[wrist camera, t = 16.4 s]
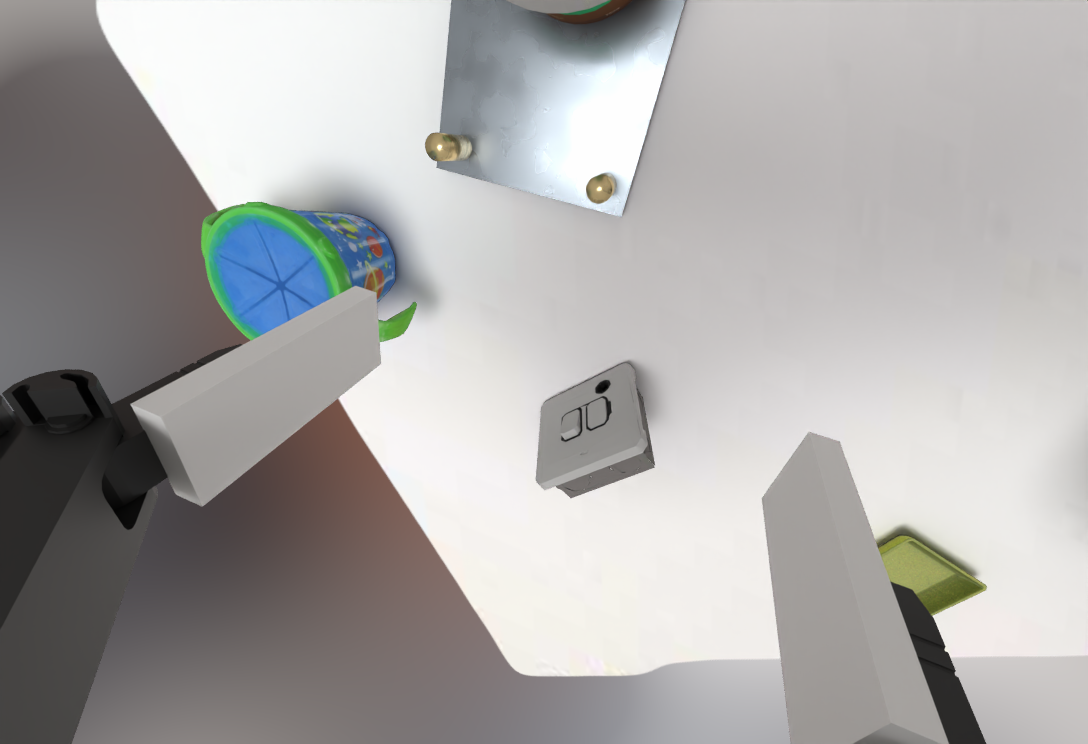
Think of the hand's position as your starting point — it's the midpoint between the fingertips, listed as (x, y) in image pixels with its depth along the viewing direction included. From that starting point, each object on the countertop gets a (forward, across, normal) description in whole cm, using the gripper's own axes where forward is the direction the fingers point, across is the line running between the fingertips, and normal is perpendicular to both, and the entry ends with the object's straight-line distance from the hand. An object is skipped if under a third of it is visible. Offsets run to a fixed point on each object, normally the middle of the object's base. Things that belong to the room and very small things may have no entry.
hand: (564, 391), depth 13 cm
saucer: (+24, +31, -25) cm, 46 cm away
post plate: (+24, -9, +10) cm, 27 cm away
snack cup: (+20, -23, -8) cm, 32 cm away
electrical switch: (+22, 0, -16) cm, 27 cm away
